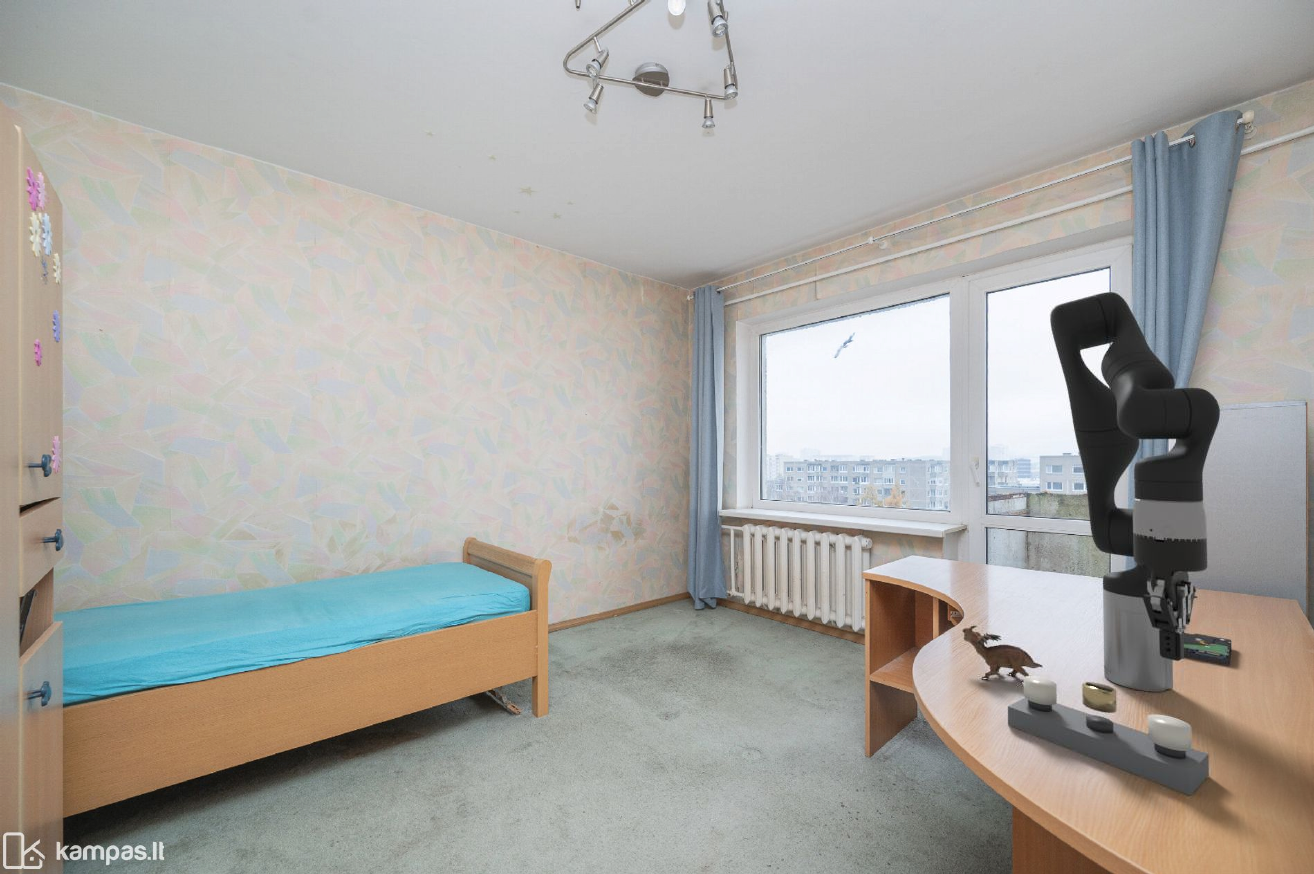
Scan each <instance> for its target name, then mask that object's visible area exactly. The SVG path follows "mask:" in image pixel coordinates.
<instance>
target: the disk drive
mask: <svg viewBox="0 0 1314 874" xmlns="http://www.w3.org/2000/svg"><path fill="white" fill-rule="evenodd" d="M1183 633H1184V658H1187V659H1191V660H1197V661H1201V662H1207V663H1211V664H1216V665H1222V666H1227V667H1229V666H1230V664H1231V657H1232V656H1231V654H1232V649H1233V648H1232V639H1229V638H1222V637H1217V636H1212V635H1206V634H1201V633H1188V632H1187V633H1186V631H1185V632H1183Z"/></svg>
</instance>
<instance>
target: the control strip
mask: <svg viewBox="0 0 1314 874" xmlns="http://www.w3.org/2000/svg"><path fill="white" fill-rule="evenodd" d="M1007 725H1008V726H1009V725H1011V726H1010V727H1013V728H1015V727H1016V729H1018V730H1020V731H1023V732H1025V733H1028V734H1031V735H1033V736H1036V737H1038V738H1041V739H1042V740H1043V739H1044V740H1046V741H1048V742H1051V743H1054V744H1056V745H1059V746H1060V747H1063V748H1066V749H1068V750H1072V751H1074V752H1076V753H1078V754H1082V755H1084V756H1086V757H1087V756H1088V757H1090V758H1092V759H1095V760H1096V761H1097V760H1098V761H1100V762H1102V763H1105V764H1107V763H1108V765H1110V766H1113V767H1115V768H1117V769H1121V770H1123V771H1125V772H1127V773H1131V774H1134V775H1136V776H1139V777H1141V778H1144V779H1146V780H1149V781H1151V782H1154V783H1157V784H1160V785H1162V786H1165V787H1166V788H1170V789H1172V790H1175V791H1177V792H1179V793H1183V794H1185V795H1188V796H1191V795H1193V794H1194V793H1195V791H1196V790H1198V789H1199V787H1200V786H1201V785H1202V784H1203V783H1204V782H1205V781H1206V780H1207V779H1208V778H1207V777H1208V776H1209V777H1210V768H1209V767H1210V763H1209V761H1210V760H1209V759H1210V757H1209V753H1208V752H1207V753H1206V752H1204V751H1201V750H1199V749H1198V750H1197V749H1195V748H1192V749H1191V750H1190V751H1178V750H1172V749H1169V748H1165V747H1162V746H1160V745H1158V744H1156V743H1154V742H1152V741H1151V740H1150V739H1149V738H1148V733H1147V732H1144V731H1141V730H1137V729H1136V728H1132V727H1129V726H1126V725H1123V724H1120V723H1117V722H1115V721H1112V720H1111V719H1110V718H1107V717H1105V716H1100V715H1097V714H1090V713H1087V712H1084V711H1081V710H1078V709H1075V708H1073V707H1070V706H1066V705H1063V704H1060V703H1058V702H1057V703H1056V704H1055V705H1043V704H1038V703H1034V702H1032V701H1029V700H1027V699H1026V698H1025V697H1024V698H1021V699H1020V700H1017V701H1016V702H1014V703H1012V704H1011V703H1010V704H1009V705H1008V706H1007ZM1205 779H1206V780H1205Z"/></svg>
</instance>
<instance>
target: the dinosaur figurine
mask: <svg viewBox="0 0 1314 874" xmlns="http://www.w3.org/2000/svg"><path fill="white" fill-rule="evenodd" d="M975 628H977V625H972V626H970V627H965V628H962V633H963V640H964V641H965V642H967V643H969V644H971V646H973V648H974V649H975V650H976V653H977V654H978V655H980V656H981V658H983V660H985V664H986V665H987V666H989V671H988V672H985V674H984V676H981V677H982V678H987V679H988V678H989V679H990V676H991V677H992V676H997V675H998V673H999V672H1000V670H1001V668H1003V669H1004V668H1005V669H1009V670H1010V669H1012V671H1010V672H1008V673H1009V674H1011V675H1013V676H1017V674H1020V675H1022V676H1023V679H1021V680H1020V683H1021V682H1023V683H1024V677H1026V676H1030V674H1029V673H1028V672H1027V671H1026V669H1025V668H1024V667H1027V668H1030V669H1037V668H1043V664H1040V663H1039V662H1038V663H1037V662H1036V661H1034V660H1033V657H1031V655H1030V654H1029V652H1027V651H1026V650H1024V649H1022V648H1021V647H1020V646H1015V645H1011V644H998V645H991V646H988V647H987V646H985V644H986V645H988V641H989V640H991V641H993V642H994V641H997V642H999V641H1002V639H1001V638H1002V636H1001V635H997V634H992V633H990V634H989V633H987V632H986V633H983V635H982V634H981V633H980V632H978V631H974V630H973V629H975ZM989 679H988V680H989Z"/></svg>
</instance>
